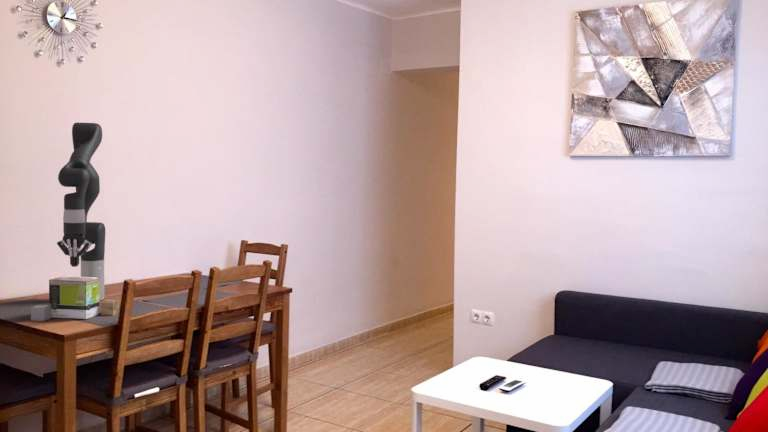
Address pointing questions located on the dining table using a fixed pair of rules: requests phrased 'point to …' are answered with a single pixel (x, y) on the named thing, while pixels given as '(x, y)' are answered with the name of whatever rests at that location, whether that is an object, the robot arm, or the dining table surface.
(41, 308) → the slate block
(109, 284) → the dining table surface
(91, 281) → the tea box
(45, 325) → the dining table surface
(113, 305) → the brown box
